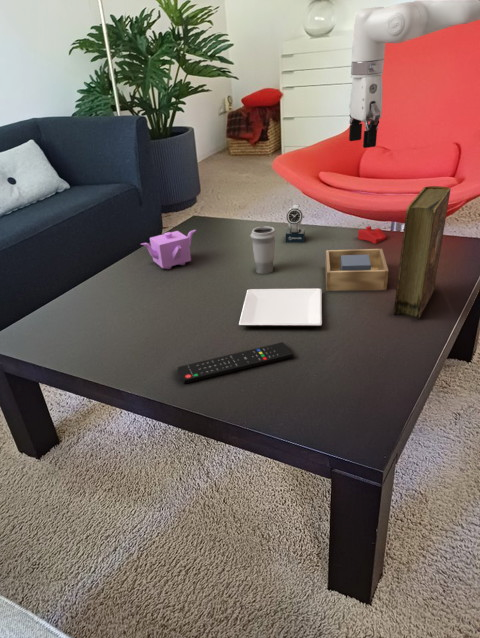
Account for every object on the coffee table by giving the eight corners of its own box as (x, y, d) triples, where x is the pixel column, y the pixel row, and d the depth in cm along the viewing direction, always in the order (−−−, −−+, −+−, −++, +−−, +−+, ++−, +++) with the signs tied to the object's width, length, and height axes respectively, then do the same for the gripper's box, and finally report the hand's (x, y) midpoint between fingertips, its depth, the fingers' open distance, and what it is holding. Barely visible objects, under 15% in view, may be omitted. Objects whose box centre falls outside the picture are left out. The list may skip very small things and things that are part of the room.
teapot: (153, 279, 150) (148, 247, 145) (138, 265, 161) (132, 234, 155) (209, 264, 156) (206, 232, 151) (190, 251, 166) (187, 221, 161)
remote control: (292, 359, 109) (292, 354, 108) (182, 386, 105) (181, 381, 104) (282, 347, 114) (282, 342, 113) (176, 372, 109) (175, 367, 109)
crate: (380, 268, 142) (382, 248, 139) (386, 291, 130) (388, 271, 127) (325, 269, 145) (325, 250, 142) (326, 292, 133) (327, 272, 130)
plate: (247, 295, 136) (247, 288, 135) (321, 295, 132) (321, 287, 131) (238, 331, 121) (238, 323, 120) (321, 332, 117) (321, 324, 116)
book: (411, 287, 131) (425, 185, 117) (434, 291, 128) (451, 186, 114) (393, 317, 120) (406, 207, 106) (418, 321, 117) (435, 210, 103)
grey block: (367, 272, 139) (368, 254, 137) (369, 283, 134) (371, 265, 131) (339, 272, 141) (340, 255, 138) (341, 283, 135) (342, 265, 132)
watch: (284, 245, 162) (284, 210, 156) (287, 236, 169) (287, 202, 163) (303, 245, 161) (303, 210, 155) (305, 236, 167) (305, 201, 161)
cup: (275, 265, 151) (274, 224, 144) (279, 274, 145) (278, 232, 138) (250, 267, 151) (248, 227, 144) (253, 277, 145) (251, 235, 139)
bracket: (357, 239, 161) (358, 230, 159) (367, 235, 163) (368, 225, 161) (375, 244, 156) (376, 234, 155) (385, 239, 158) (386, 230, 157)
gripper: (397, 69, 121) (389, 148, 130) (368, 65, 135) (363, 136, 145) (365, 73, 120) (360, 152, 130) (339, 68, 135) (336, 139, 144)
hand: (361, 143), depth 137 cm, fingers open, 9 cm apart
